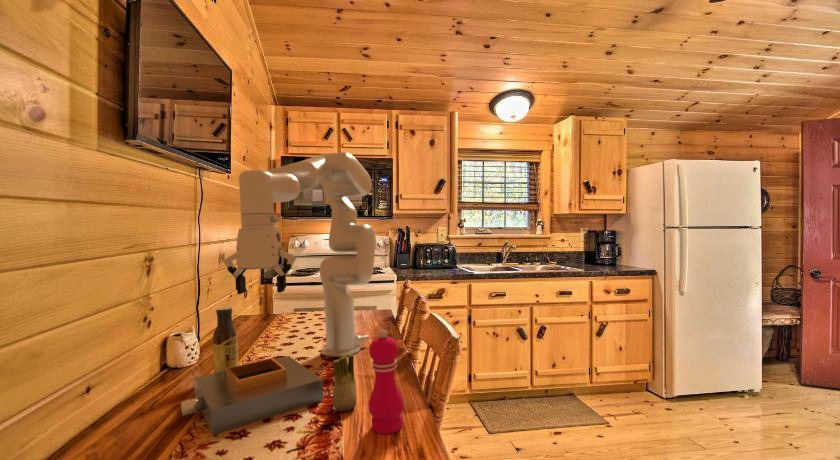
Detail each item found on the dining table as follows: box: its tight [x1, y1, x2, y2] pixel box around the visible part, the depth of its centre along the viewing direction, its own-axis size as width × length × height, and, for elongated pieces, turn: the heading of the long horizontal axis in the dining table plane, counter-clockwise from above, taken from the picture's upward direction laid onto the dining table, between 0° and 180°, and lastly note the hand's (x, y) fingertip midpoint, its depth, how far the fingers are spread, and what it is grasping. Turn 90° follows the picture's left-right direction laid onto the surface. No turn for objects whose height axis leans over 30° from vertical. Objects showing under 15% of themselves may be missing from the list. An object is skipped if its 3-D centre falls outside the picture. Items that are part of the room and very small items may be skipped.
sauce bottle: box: [212, 306, 239, 373], centre depth 114 cm, size 6×6×20 cm
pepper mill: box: [368, 329, 405, 435], centre depth 83 cm, size 7×7×20 cm
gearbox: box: [180, 355, 324, 436], centre depth 99 cm, size 28×24×8 cm
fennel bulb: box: [332, 354, 357, 413], centre depth 92 cm, size 6×5×12 cm
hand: (261, 292), depth 99 cm, fingers open, 9 cm apart
